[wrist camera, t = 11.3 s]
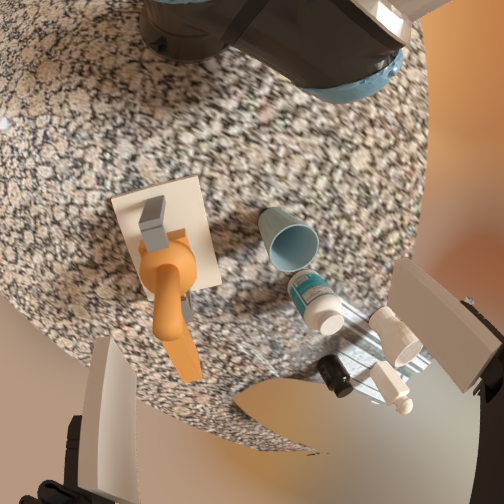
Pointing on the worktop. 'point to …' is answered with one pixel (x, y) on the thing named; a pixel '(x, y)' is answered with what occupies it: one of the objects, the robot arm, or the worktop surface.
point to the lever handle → (172, 299)
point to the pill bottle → (316, 302)
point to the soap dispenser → (391, 386)
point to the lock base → (169, 228)
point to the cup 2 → (395, 337)
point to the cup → (287, 240)
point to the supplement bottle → (335, 375)
